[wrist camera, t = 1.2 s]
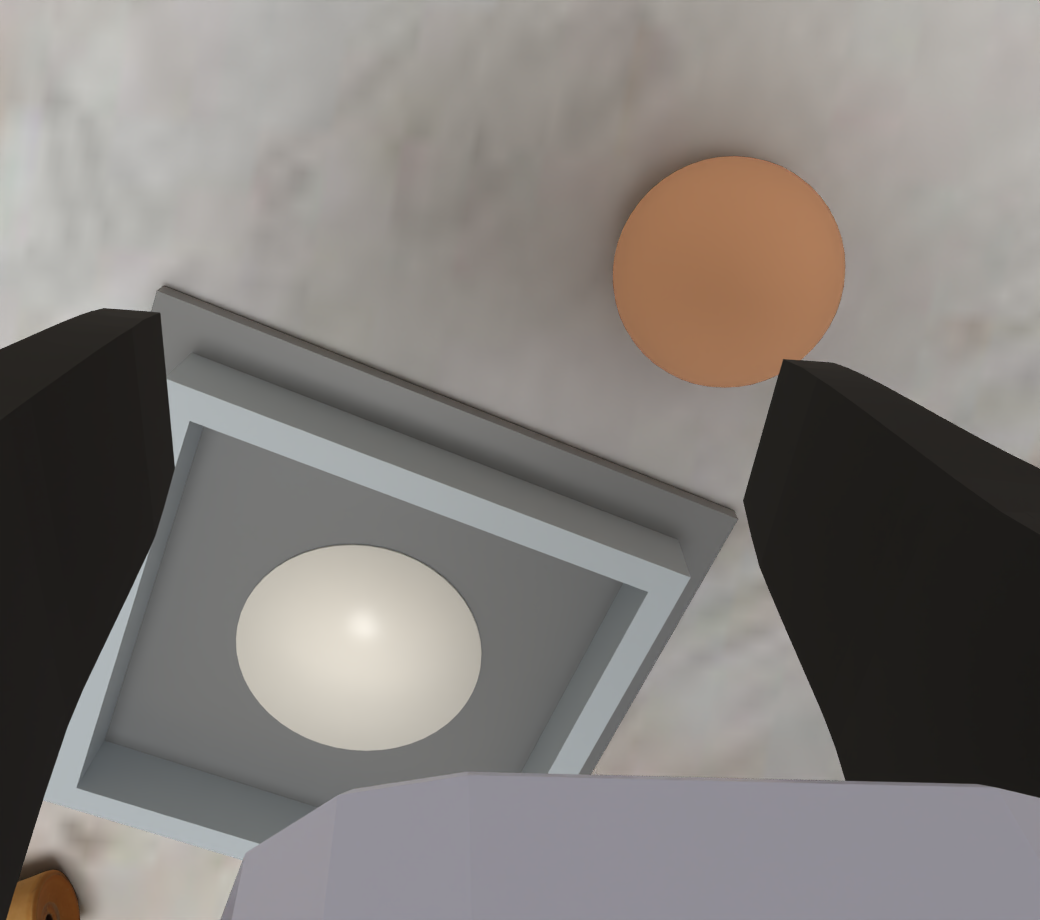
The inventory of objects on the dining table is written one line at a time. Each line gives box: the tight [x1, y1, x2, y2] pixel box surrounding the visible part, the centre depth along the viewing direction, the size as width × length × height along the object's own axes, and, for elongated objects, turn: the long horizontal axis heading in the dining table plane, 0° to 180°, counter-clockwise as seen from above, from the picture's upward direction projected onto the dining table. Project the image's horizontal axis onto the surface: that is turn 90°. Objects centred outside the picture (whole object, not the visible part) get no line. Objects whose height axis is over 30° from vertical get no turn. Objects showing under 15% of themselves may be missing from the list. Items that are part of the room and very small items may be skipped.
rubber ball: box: [613, 156, 845, 388], centre depth 21 cm, size 5×5×5 cm
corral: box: [43, 286, 738, 860], centre depth 27 cm, size 16×16×2 cm
